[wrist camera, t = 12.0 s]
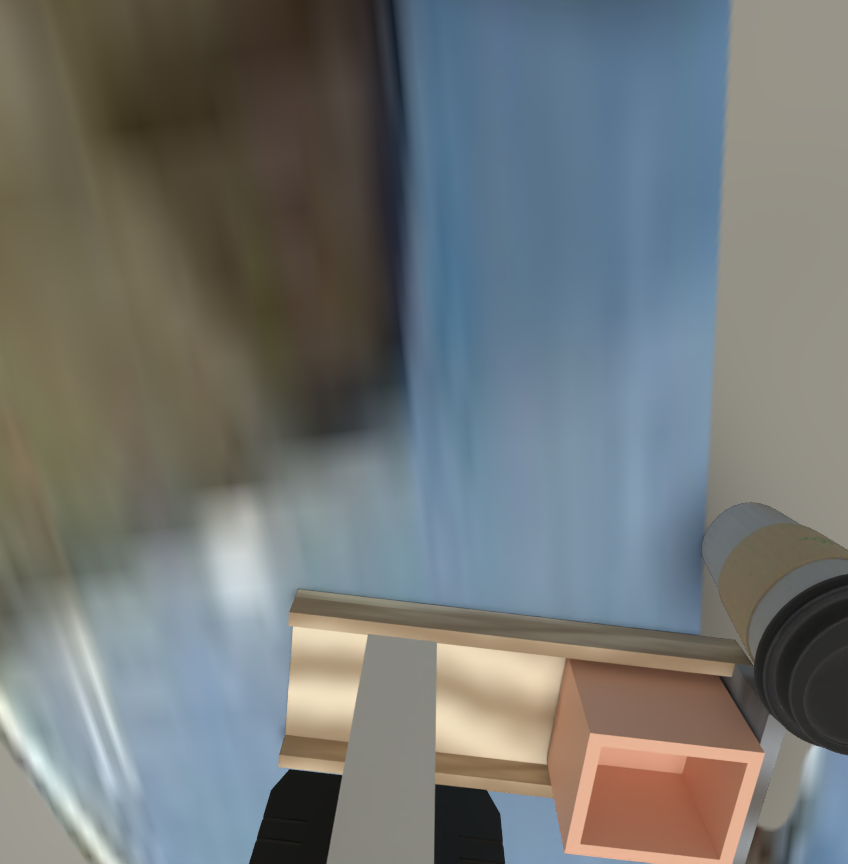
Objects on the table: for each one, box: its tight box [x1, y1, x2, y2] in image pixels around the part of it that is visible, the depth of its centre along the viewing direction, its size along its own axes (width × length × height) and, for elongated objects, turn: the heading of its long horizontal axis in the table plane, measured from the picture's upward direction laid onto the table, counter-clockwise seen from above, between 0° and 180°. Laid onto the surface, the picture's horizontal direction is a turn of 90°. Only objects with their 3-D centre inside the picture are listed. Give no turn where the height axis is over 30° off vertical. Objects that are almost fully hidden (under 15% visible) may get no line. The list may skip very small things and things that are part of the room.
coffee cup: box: [702, 503, 848, 755], centre depth 40 cm, size 9×9×15 cm
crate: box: [547, 658, 765, 864], centre depth 46 cm, size 9×10×8 cm
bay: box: [278, 589, 786, 864], centre depth 47 cm, size 12×30×8 cm, turn 83°
